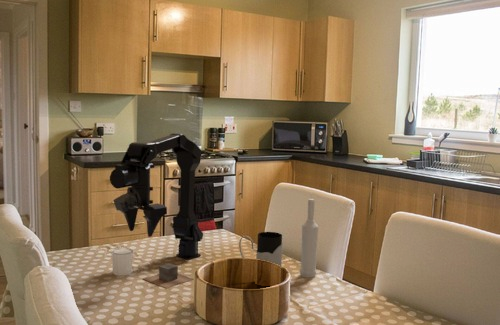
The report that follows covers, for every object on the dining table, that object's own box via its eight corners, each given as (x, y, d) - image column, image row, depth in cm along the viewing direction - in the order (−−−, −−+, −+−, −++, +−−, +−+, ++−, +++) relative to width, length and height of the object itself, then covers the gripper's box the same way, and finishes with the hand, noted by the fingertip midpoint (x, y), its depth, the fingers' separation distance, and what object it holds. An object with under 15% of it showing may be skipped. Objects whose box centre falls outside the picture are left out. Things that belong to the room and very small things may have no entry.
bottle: (318, 274, 169) (321, 199, 166) (313, 279, 164) (316, 201, 161) (302, 271, 171) (306, 197, 168) (297, 276, 166) (301, 199, 164)
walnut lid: (169, 273, 168) (170, 258, 167) (193, 281, 161) (193, 266, 160) (142, 281, 159) (142, 266, 159) (166, 290, 152) (166, 274, 152)
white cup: (127, 277, 161) (127, 255, 160) (107, 275, 162) (107, 253, 161) (136, 270, 167) (137, 249, 167) (117, 268, 169) (117, 247, 168)
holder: (278, 288, 155) (279, 239, 153) (233, 282, 159) (234, 234, 158) (285, 279, 163) (287, 233, 161) (242, 273, 168) (244, 228, 166)
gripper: (100, 182, 158) (100, 232, 160) (137, 191, 146) (137, 245, 148) (130, 178, 166) (130, 226, 168) (168, 186, 154) (167, 237, 156)
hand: (140, 233), depth 160 cm, fingers open, 9 cm apart
